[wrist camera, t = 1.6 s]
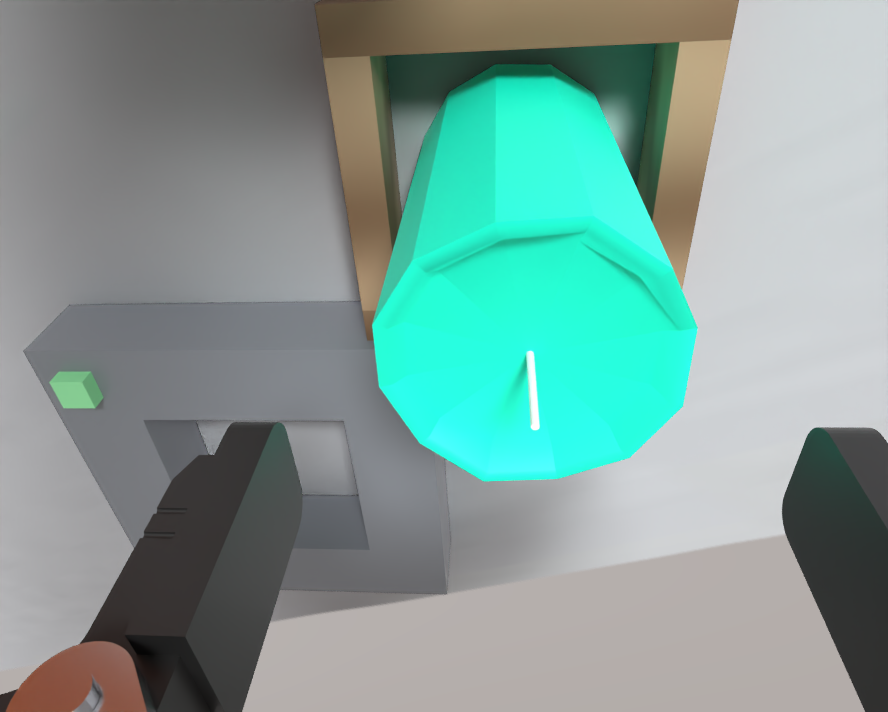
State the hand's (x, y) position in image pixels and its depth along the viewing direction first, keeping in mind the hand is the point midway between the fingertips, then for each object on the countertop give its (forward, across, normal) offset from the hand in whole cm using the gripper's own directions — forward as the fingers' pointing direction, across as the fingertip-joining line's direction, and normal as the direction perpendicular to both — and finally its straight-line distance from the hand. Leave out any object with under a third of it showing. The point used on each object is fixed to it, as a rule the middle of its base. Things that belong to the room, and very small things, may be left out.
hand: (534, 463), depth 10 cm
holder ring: (+13, 0, 0) cm, 13 cm away
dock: (+13, +10, +12) cm, 20 cm away
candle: (+13, 0, 0) cm, 13 cm away
